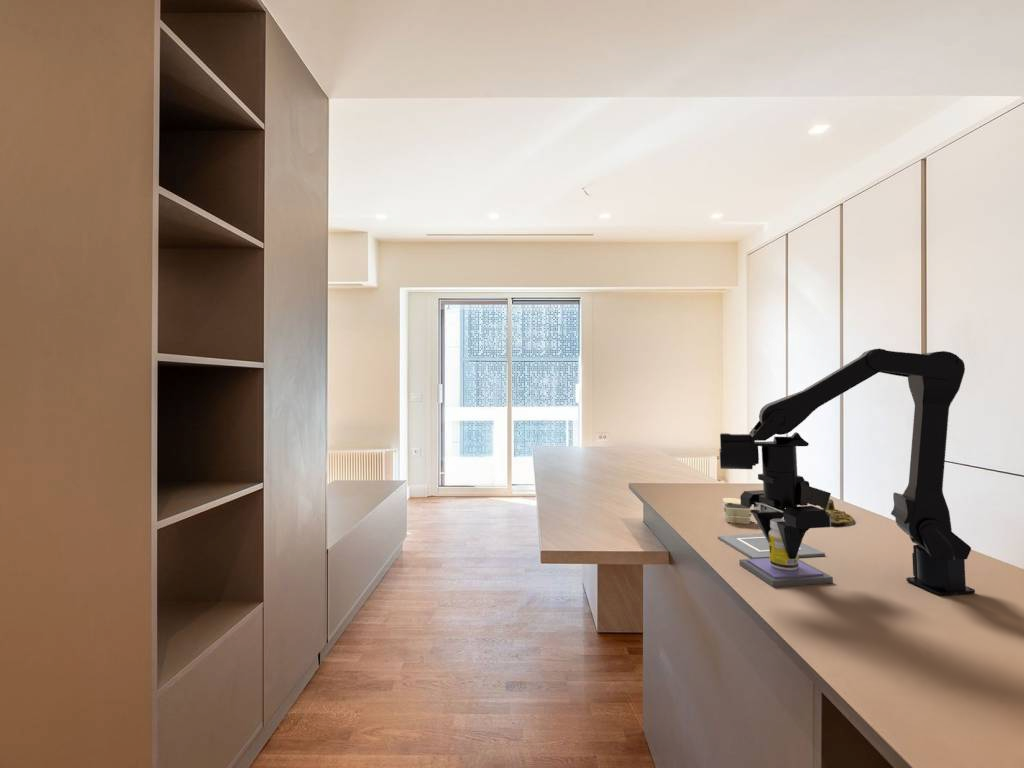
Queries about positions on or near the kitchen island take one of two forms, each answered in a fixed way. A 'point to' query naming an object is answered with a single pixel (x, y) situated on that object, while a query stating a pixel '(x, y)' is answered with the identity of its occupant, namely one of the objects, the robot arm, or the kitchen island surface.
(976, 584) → the kitchen island surface
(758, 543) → the board
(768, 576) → the pad
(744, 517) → the cream tiered block
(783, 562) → the supplement bottle
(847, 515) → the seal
